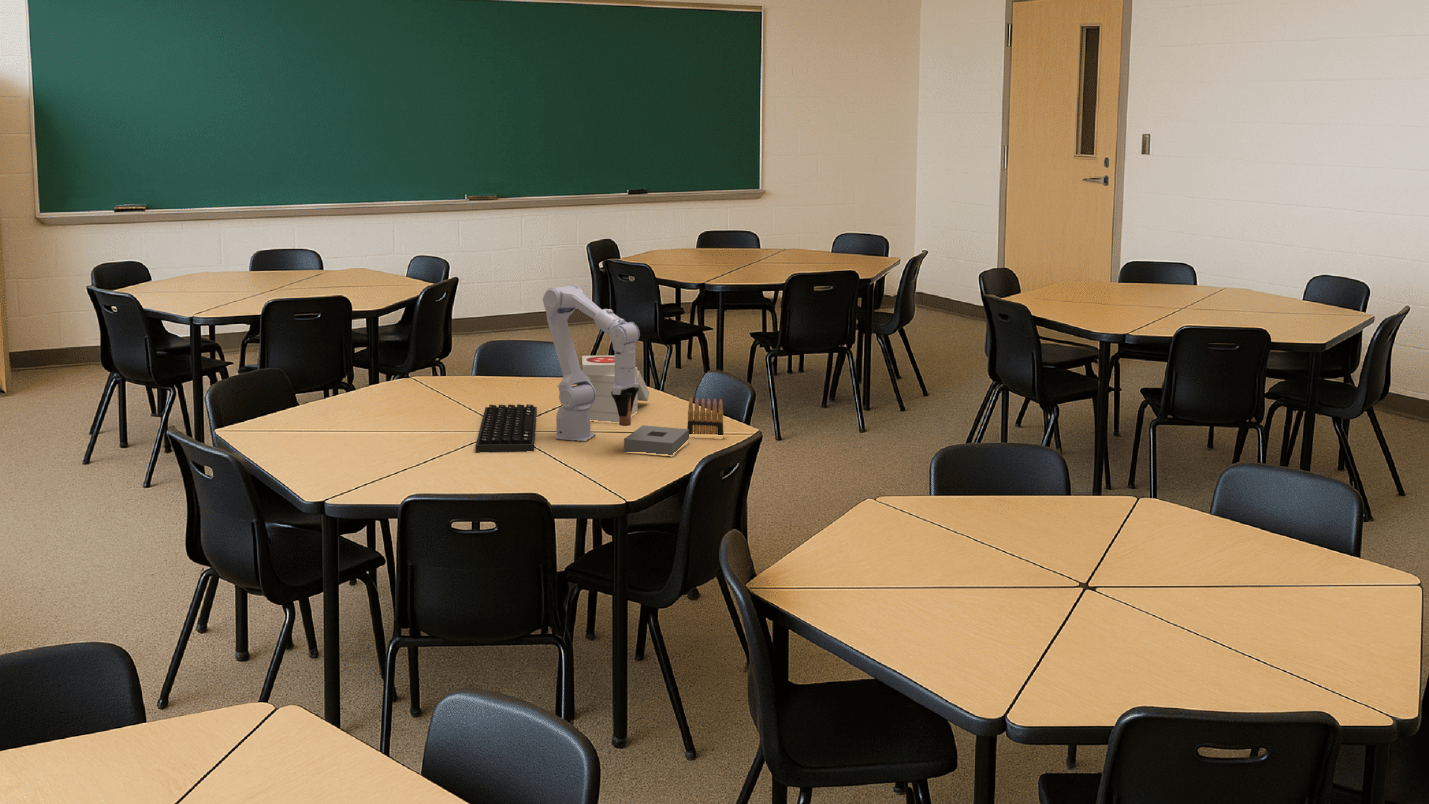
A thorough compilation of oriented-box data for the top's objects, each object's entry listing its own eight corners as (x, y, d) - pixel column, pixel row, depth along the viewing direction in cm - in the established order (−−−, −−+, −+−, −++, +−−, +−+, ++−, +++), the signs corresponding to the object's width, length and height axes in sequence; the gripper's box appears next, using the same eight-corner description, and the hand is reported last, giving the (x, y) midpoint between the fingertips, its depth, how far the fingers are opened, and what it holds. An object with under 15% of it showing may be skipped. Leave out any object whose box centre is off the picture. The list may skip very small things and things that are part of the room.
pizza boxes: (654, 404, 380) (655, 350, 376) (626, 426, 352) (626, 367, 348) (599, 400, 384) (599, 346, 380) (567, 421, 356) (566, 363, 352)
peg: (617, 425, 324) (617, 397, 322) (621, 422, 327) (621, 395, 325) (628, 426, 323) (628, 398, 321) (632, 423, 326) (632, 395, 324)
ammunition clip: (723, 438, 340) (724, 398, 338) (722, 439, 339) (723, 399, 336) (687, 436, 342) (688, 396, 339) (686, 437, 340) (687, 397, 337)
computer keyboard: (534, 453, 323) (533, 440, 322) (475, 454, 320) (475, 441, 320) (536, 414, 366) (536, 403, 365) (485, 415, 364) (485, 403, 363)
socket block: (624, 452, 323) (624, 438, 322) (642, 438, 338) (642, 425, 337) (672, 457, 319) (672, 443, 318) (688, 442, 334) (688, 429, 333)
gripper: (629, 372, 313) (629, 421, 316) (647, 363, 327) (647, 410, 330) (605, 371, 315) (605, 419, 318) (623, 361, 329) (623, 408, 332)
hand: (625, 414), depth 324 cm, fingers closed on peg, 3 cm apart
